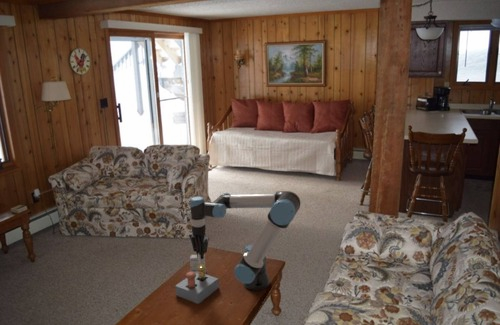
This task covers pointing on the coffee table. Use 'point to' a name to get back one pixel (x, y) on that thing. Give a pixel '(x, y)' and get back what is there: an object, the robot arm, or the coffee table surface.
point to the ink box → (195, 263)
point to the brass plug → (201, 272)
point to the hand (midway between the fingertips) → (200, 263)
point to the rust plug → (191, 279)
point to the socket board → (197, 288)
